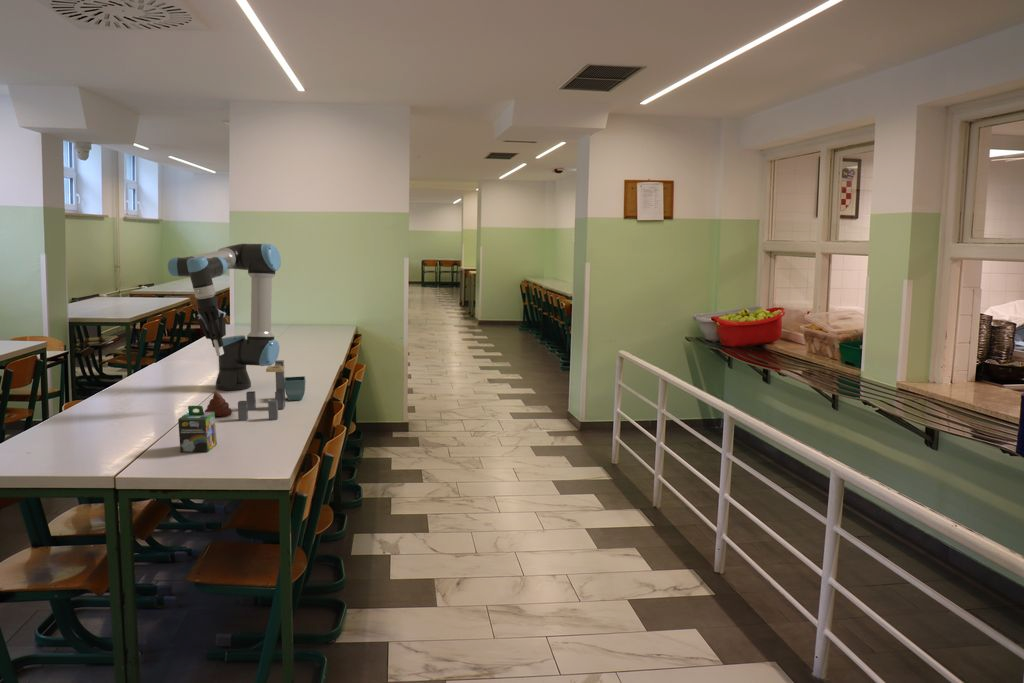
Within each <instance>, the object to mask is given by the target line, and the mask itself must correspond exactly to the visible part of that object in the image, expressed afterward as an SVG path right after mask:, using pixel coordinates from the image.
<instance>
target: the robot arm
mask: <svg viewBox="0 0 1024 683" xmlns="http://www.w3.org/2000/svg"><path fill="white" fill-rule="evenodd" d="M281 258H282V257H281V254H280V252H279V250H278V248H277V247H276V246H275V245H273V244H268V243H237V244H232V245H230V246H229V245H228V246H224V247H221V248H219V249H218V250H217V251H211V252H207V253H200V254H196V255H190V256H185V257H179V256H178V257H171V258H170V259H169V260H168V263H167V270H168V273H169V274H170V275H171V276H173V277H178V278H180V277H189V278H190V281H191V285H192V289H193V293H194V297H195V298H196V305H197V308H198V309H199V310H198V314H197V315H195V316H194V319H195V320H196V321H197V322H198V325H199V327H200V328H201V331H202V332H203V335H204V337H205V339H207V340H211V344H212V348H214V349H215V353H216V357H218V374H217V377H216V380H215V389H217V390H218V391H219V390H220V391H239V390H245V389H249V388H251V387H252V381H251V379H250V375H249V373H248V370H247V366H260V367H268V366H274V365H275V361H276V360H278V358H279V355H280V345H279V341H278V340H276V339H275V335H274V334H273V333H272V288H273V287H272V285H273V284H272V282H273V281H272V279H273V278H274V277H275V276H276V272H277V271H279V270H280V268H281V263H282V260H281ZM228 270H242V271H243V270H244V271H247V275H248V276H250V278H251V280H250V281H251V284H250V285H251V286H250V287H251V288H250V289H251V292H250V300H251V301H250V302H251V303H250V332H249V333H248V334H247V335H246V336H245V335H244V334H243V335H242V334H241V335H240V334H239V335H232V336H226V335H227V332H226V330H227V329H226V328H227V326H226V317H227V314H228V313H227V312H226V311H222V310H221V308H220V307H219V305H218V304H219V303H218V298H217V295H216V289H215V286H214V282H213V278H217V277H218V278H219V277H220V276H222V275H224V274H226V273H227V271H228ZM225 336H226V337H225Z"/></svg>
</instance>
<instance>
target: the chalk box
mask: <svg viewBox="0 0 1024 683" xmlns="http://www.w3.org/2000/svg"><path fill="white" fill-rule="evenodd" d="M187 409H188V412H187V413H185V414H183V415H181V416H180V417H179V418H178V420H177V421H178V422H177V423H178V434H179V435H178V436H179V449H180V450H179V451H180V453H209V452H210V451H211V450H212V449H213V448H214V447H215V446H216V445H217V444H218V442H217V431H216V430H217V429H216V427H217V426H216V417H215V412H205V411H204V408H203V406H202V405H188V406H187ZM195 409H196V410H198V411H195V412H194V410H195Z"/></svg>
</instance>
